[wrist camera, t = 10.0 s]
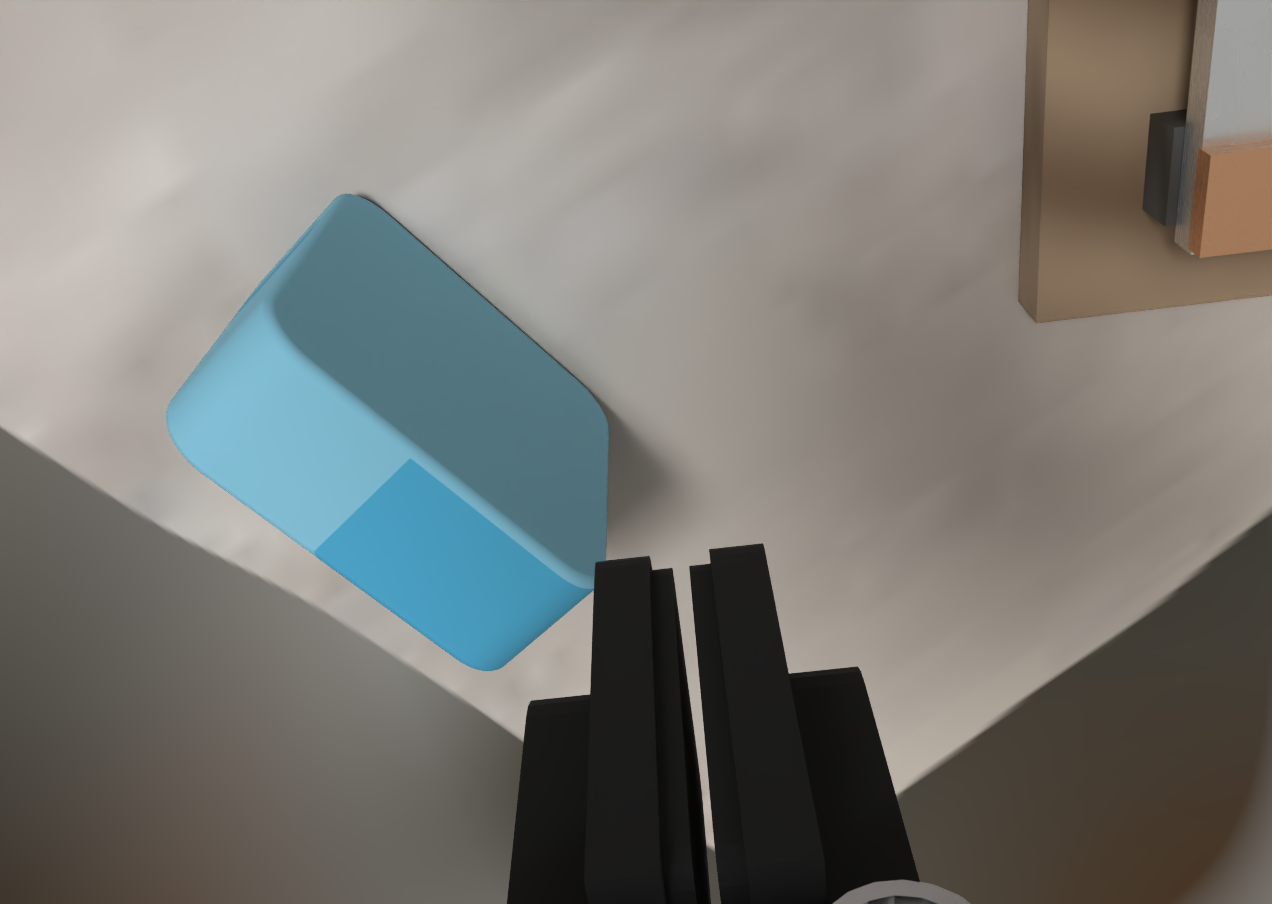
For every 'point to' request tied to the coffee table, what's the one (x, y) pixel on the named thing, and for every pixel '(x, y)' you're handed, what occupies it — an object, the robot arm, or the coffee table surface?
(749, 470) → the coffee table surface
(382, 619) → the coffee table surface
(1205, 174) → the latch lever
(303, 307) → the blue rounded block
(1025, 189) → the latch base
